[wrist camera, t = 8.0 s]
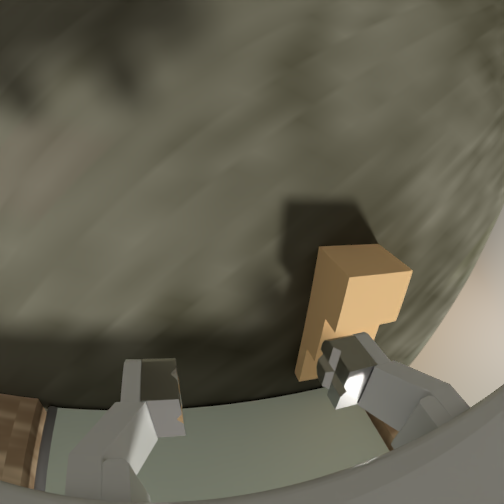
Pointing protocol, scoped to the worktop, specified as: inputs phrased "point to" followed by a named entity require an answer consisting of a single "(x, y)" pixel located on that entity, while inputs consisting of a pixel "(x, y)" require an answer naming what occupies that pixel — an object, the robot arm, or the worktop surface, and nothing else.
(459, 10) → the worktop surface
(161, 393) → the robot arm
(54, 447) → the door leaf
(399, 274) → the tan long block
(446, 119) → the worktop surface
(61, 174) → the worktop surface
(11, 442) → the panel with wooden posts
